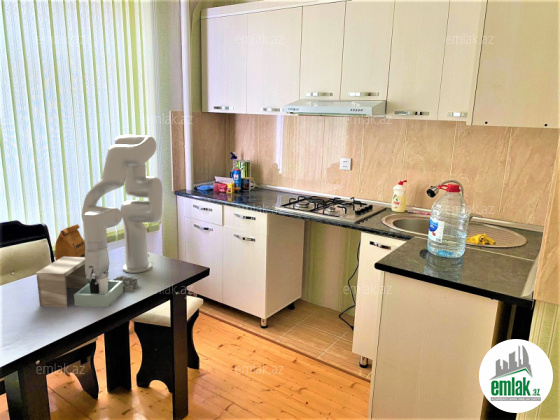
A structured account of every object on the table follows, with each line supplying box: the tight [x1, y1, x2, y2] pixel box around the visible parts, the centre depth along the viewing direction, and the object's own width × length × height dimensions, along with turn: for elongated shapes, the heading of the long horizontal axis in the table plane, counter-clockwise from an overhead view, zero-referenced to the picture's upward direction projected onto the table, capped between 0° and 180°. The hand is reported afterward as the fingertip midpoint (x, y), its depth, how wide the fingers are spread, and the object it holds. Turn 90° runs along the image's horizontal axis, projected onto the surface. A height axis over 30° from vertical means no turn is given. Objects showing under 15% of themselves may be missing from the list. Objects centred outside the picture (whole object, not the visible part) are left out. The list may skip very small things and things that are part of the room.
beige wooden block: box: [35, 257, 89, 308], centre depth 156 cm, size 17×10×13 cm, turn 177°
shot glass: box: [92, 273, 109, 295], centre depth 156 cm, size 7×7×7 cm
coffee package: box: [54, 223, 86, 261], centre depth 175 cm, size 10×12×22 cm
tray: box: [73, 279, 124, 308], centre depth 156 cm, size 14×12×4 cm
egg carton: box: [113, 275, 140, 293], centre depth 167 cm, size 11×8×4 cm
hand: (99, 288), depth 156 cm, fingers closed on shot glass, 6 cm apart
